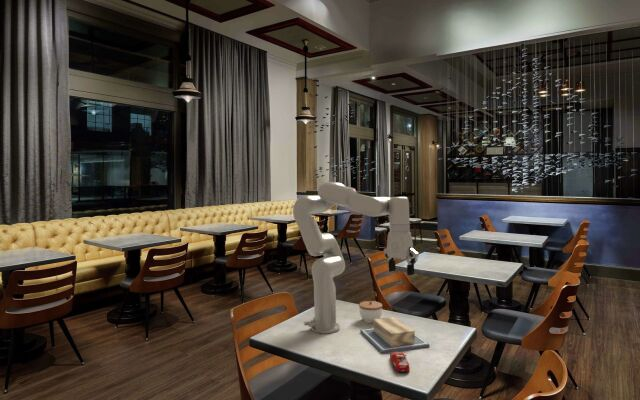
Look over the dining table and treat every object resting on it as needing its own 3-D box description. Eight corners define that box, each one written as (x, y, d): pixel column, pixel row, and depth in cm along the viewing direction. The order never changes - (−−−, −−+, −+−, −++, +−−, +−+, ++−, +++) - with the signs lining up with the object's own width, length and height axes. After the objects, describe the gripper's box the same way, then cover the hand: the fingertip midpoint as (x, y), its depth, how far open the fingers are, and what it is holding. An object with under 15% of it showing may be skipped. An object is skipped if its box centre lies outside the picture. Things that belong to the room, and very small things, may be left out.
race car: (389, 357, 142) (389, 346, 142) (404, 357, 141) (403, 346, 141) (394, 374, 128) (394, 362, 128) (410, 374, 128) (410, 362, 128)
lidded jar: (357, 324, 175) (357, 303, 175) (360, 316, 186) (360, 297, 185) (381, 325, 173) (381, 305, 173) (383, 317, 183) (383, 298, 183)
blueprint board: (382, 353, 144) (382, 337, 144) (360, 332, 165) (360, 318, 165) (429, 346, 149) (429, 331, 149) (402, 327, 170) (402, 313, 170)
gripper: (377, 228, 153) (378, 271, 153) (409, 230, 139) (411, 278, 139) (390, 226, 157) (392, 268, 158) (423, 229, 143) (425, 274, 143)
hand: (401, 272), depth 148 cm, fingers open, 9 cm apart
